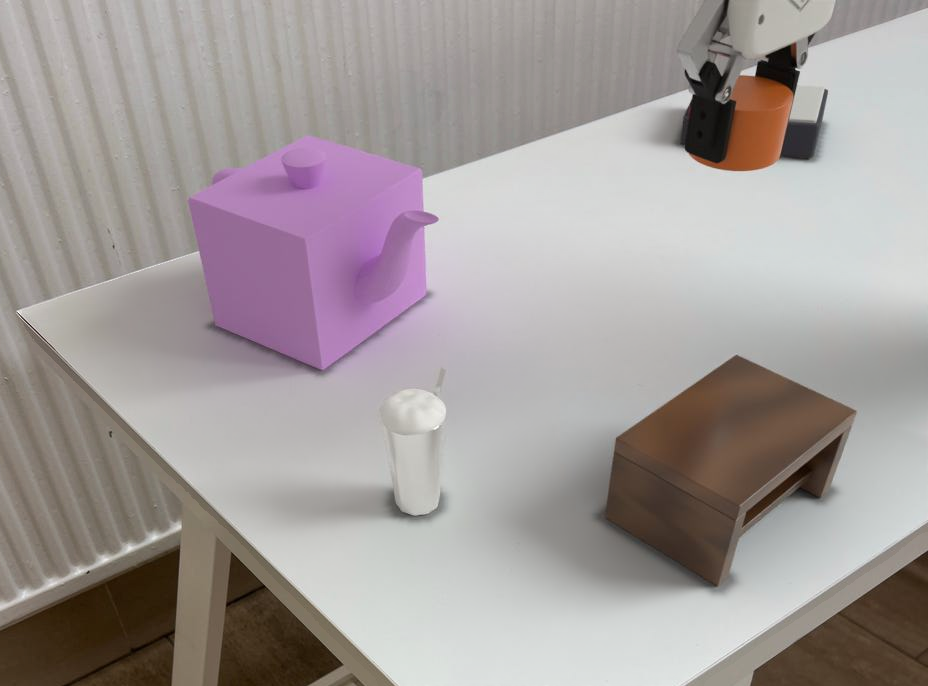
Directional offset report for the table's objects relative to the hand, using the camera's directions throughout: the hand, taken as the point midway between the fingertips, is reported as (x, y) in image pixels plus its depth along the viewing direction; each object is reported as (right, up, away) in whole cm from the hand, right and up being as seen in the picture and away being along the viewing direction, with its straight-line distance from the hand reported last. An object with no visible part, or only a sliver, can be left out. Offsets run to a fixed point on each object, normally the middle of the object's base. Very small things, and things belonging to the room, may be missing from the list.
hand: (736, 138), depth 70 cm
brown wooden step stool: (-1, -26, +2) cm, 26 cm away
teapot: (-32, -6, +20) cm, 38 cm away
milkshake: (-23, -26, +3) cm, 34 cm away
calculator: (+15, +24, +45) cm, 53 cm away
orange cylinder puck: (0, -1, +1) cm, 1 cm away
